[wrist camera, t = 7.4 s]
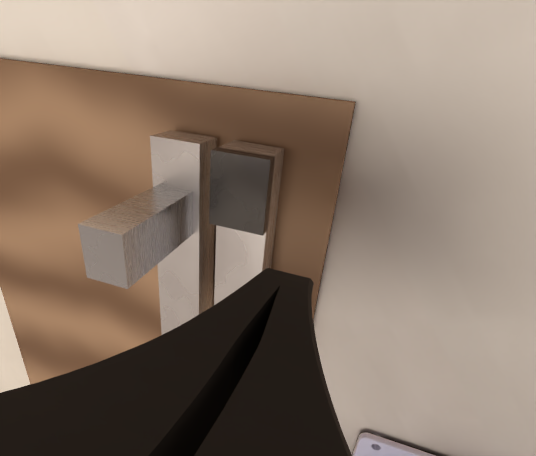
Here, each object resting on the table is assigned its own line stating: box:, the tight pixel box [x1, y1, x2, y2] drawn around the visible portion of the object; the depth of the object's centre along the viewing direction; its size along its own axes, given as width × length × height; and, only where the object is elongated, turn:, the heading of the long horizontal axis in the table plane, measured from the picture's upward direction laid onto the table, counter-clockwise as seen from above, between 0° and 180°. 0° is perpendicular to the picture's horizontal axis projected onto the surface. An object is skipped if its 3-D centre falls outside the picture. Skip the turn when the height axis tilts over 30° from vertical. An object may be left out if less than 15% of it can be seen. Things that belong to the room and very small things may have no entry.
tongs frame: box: [209, 140, 285, 305], centre depth 19 cm, size 24×5×2 cm, turn 174°
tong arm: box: [78, 130, 217, 335], centre depth 16 cm, size 18×2×6 cm, turn 174°
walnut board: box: [0, 58, 356, 384], centre depth 21 cm, size 28×22×1 cm
